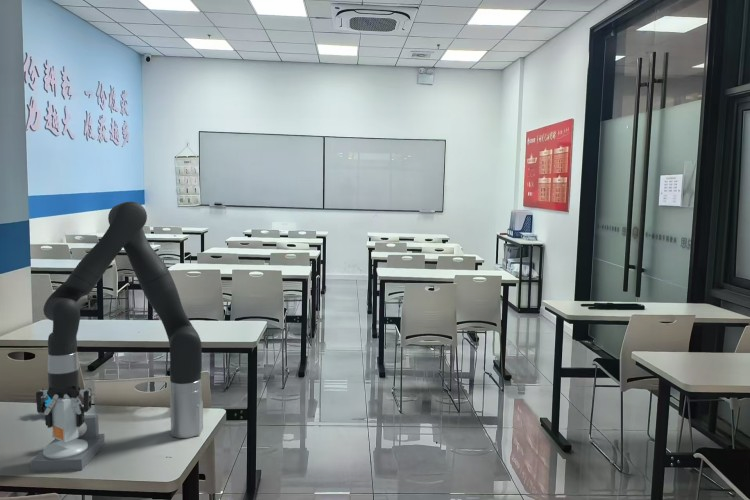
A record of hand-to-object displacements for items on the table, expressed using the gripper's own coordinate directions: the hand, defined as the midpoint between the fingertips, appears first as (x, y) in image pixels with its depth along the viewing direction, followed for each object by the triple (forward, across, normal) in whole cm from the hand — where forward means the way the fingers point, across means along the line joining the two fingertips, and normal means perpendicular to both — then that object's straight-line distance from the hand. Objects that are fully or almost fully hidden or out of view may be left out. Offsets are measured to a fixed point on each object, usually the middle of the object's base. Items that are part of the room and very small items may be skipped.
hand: (65, 426), depth 160 cm
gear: (+10, +18, -36) cm, 41 cm away
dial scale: (+10, 0, -2) cm, 10 cm away
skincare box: (+4, 0, 0) cm, 4 cm away
